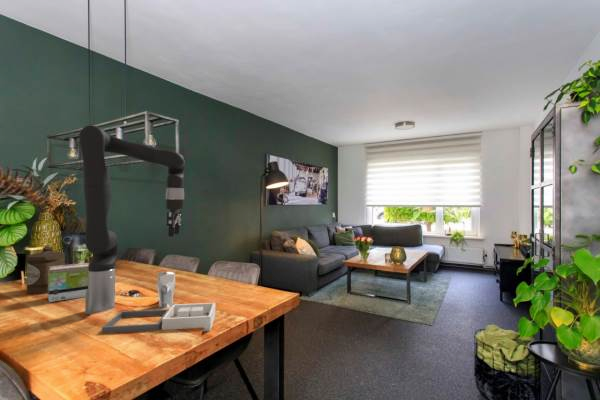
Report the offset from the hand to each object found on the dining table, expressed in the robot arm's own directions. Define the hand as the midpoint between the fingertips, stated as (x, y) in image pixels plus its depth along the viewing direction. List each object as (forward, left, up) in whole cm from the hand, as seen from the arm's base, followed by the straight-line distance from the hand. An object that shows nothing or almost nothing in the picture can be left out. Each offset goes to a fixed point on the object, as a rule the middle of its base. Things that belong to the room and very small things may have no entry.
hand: (174, 235), depth 130 cm
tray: (-6, -23, -30) cm, 38 cm away
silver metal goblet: (-2, -5, -31) cm, 31 cm away
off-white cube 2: (+14, -23, -29) cm, 39 cm away
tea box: (-51, +17, -31) cm, 62 cm away
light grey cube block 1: (+9, -23, -29) cm, 38 cm away
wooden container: (-69, +31, -31) cm, 82 cm away
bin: (+12, -23, -30) cm, 40 cm away
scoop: (+12, -23, -30) cm, 39 cm away
